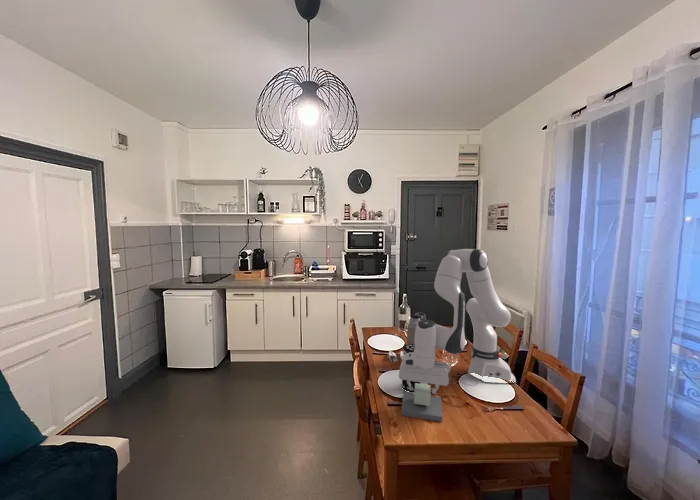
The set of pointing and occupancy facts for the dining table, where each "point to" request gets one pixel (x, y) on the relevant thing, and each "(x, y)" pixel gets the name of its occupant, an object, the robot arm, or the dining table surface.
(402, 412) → the charcoal board
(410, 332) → the thermos bottle
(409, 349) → the white-spotted black cylinder
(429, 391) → the sage green cube
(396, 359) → the salt and pepper shakers
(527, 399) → the dining table surface
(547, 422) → the dining table surface
